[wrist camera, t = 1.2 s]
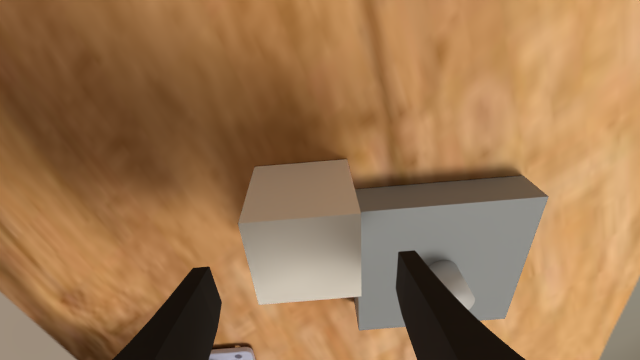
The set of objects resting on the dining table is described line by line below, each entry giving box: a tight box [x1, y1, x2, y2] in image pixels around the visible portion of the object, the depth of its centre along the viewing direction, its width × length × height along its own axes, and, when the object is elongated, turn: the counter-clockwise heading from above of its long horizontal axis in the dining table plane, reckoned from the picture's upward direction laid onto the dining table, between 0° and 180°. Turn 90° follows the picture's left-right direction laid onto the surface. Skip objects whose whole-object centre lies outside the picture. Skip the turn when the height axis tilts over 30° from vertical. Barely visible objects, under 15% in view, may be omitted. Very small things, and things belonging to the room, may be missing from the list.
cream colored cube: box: [238, 159, 361, 305], centre depth 15 cm, size 5×5×4 cm
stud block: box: [354, 176, 548, 330], centre depth 17 cm, size 9×9×4 cm
